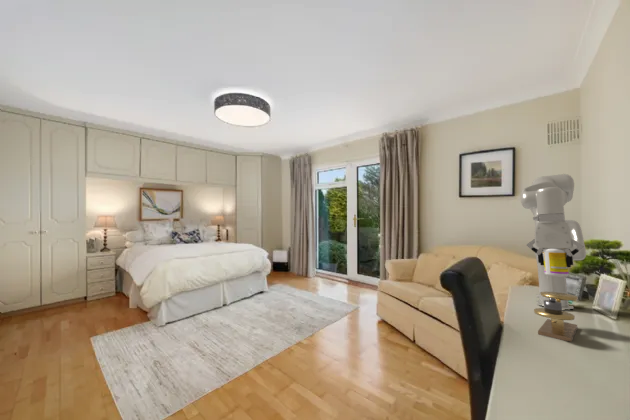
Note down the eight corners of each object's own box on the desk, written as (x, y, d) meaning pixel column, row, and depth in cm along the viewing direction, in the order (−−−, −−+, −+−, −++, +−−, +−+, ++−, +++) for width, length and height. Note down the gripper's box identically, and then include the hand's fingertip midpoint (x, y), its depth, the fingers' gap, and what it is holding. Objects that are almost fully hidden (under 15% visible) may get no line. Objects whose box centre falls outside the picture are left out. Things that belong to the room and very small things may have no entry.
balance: (575, 345, 76) (571, 304, 78) (532, 335, 84) (529, 297, 85) (582, 327, 91) (578, 292, 92) (545, 319, 99) (542, 288, 100)
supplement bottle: (574, 277, 90) (570, 241, 91) (556, 277, 90) (552, 241, 91) (556, 274, 96) (553, 241, 98) (539, 274, 97) (536, 241, 98)
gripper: (520, 219, 100) (523, 264, 98) (583, 217, 86) (588, 269, 84) (524, 220, 104) (528, 263, 103) (585, 218, 91) (590, 267, 89)
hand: (555, 265), depth 94 cm, fingers closed on supplement bottle, 6 cm apart
